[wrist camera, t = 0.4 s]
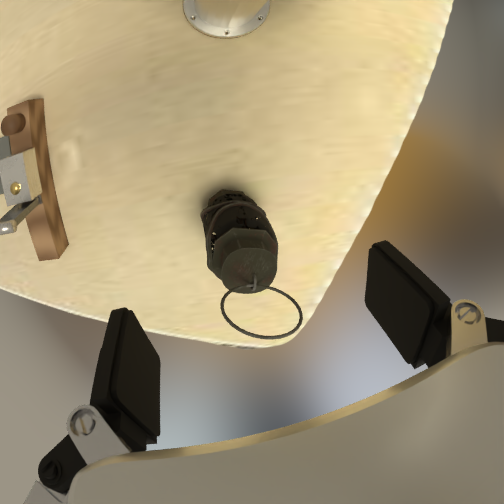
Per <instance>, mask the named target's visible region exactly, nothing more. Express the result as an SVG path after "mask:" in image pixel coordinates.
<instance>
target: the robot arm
mask: <svg viewBox="0 0 504 504" xmlns="http://www.w3.org/2000/svg"><path fill="white" fill-rule="evenodd" d="M183 9H184V13H185V16H186V18H187V20H188V21H189V23H190V24H191V25H192V26H193V27H194V28H195V29H197V30H198V31H200V32H202V33H203V34H206V35H209V36H211V37H217V38H236V37H240V36H244V35H246V34H248V33H251V32H252V31H254V30H255V29H257V28H258V27H259V26H260V25H261V24H262V23H263V22H264V21H265V19H266V17H267V15H268V13H269V9H270V0H184V2H183ZM192 18H195V20H192ZM257 18H260V20H258V19H257ZM226 32H227V33H228V35H225V33H226ZM365 303H366V307H367V308H368V309H369V311H370V312H371V314H372V315H373V316H374V318H375V319H376V320H377V322H378V323H379V324H380V326H381V327H382V329H383V330H384V331H385V333H386V334H387V336H388V337H389V338H390V340H391V341H392V343H393V344H394V345H395V347H396V348H397V350H398V351H399V352H400V354H401V355H402V357H403V358H404V360H405V361H406V362H407V363H408V364H411V365H412V366H413V367H414V369H416V368H418V367H420V366H421V365H423V364H425V363H426V365H427V366H428V369H426V370H424V371H422V372H420V373H418V374H417V375H415V376H412V377H411V378H409V379H407V380H405V381H403V382H401V383H399V384H396V385H394V386H392V387H390V388H388V389H386V390H384V391H382V392H379V393H377V394H375V395H373V396H370V397H368V398H366V399H363V400H361V401H358V402H356V403H353V404H351V405H348V406H346V407H343V408H341V409H338V410H335V411H333V412H330V413H327V414H324V415H321V416H318V417H315V418H312V419H309V420H306V421H303V422H300V423H296V424H293V425H290V426H286V427H283V428H279V429H275V430H271V431H267V432H263V433H259V434H255V435H251V436H246V437H242V438H236V439H232V440H227V441H221V442H215V443H209V444H202V445H195V446H189V447H181V448H173V449H163V450H152V451H146V444H157V436H159V435H160V358H159V355H158V354H157V352H156V350H155V349H154V347H153V345H152V344H151V342H150V340H149V339H148V337H147V335H146V334H145V332H144V330H143V328H142V327H141V325H140V323H139V321H138V320H137V318H136V316H135V314H134V313H133V311H132V310H128V309H127V308H125V307H124V308H120V309H115V310H112V311H111V314H110V317H109V321H108V325H107V329H106V333H105V337H104V341H103V345H102V348H101V350H100V354H99V358H98V363H97V368H96V372H95V377H94V383H93V388H92V393H91V399H90V405H81V406H78V407H77V408H75V409H74V410H73V411H72V412H71V413H70V415H69V417H68V420H67V430H68V433H69V434H68V435H67V436H66V437H65V438H64V439H63V440H62V441H61V442H60V443H59V444H57V446H55V447H54V449H52V450H51V451H50V452H49V453H48V454H47V455H46V456H45V457H44V458H43V459H42V460H41V462H40V464H39V468H38V474H39V478H40V481H39V482H38V481H35V483H34V485H33V487H32V489H31V491H30V492H29V495H28V496H27V498H26V500H25V502H24V504H504V321H502V320H497V319H491V318H487V317H485V315H484V312H483V310H482V308H481V307H480V306H479V305H478V304H477V303H475V302H473V301H470V300H464V299H463V300H458V301H456V302H455V303H454V304H453V305H452V304H451V303H450V298H449V297H448V296H447V295H446V294H445V293H444V292H443V291H442V290H441V289H440V288H439V287H438V286H437V285H436V284H435V283H433V282H432V281H431V280H430V279H429V278H428V277H427V276H426V275H425V274H424V273H423V272H422V271H421V270H420V269H419V268H418V267H416V266H415V265H414V264H413V263H412V262H411V261H410V260H409V259H408V258H406V257H405V256H404V255H403V254H402V253H401V252H399V251H398V250H397V249H396V248H395V247H394V246H393V245H392V244H390V243H389V242H388V241H386V240H385V241H381V242H378V243H374V244H373V245H372V248H370V249H369V256H368V270H367V283H366V292H365Z"/></svg>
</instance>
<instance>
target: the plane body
mask: <svg viewBox="0 0 504 504" xmlns="http://www.w3.org/2000/svg"><path fill="white" fill-rule="evenodd" d="M7 115H8V116H6V117H5V118H4V119H3V121H2V123H1V131H2V133H3V135H5V136H9V137H10V145H11V152H12V155H13V154H16V153H19V152H22V151H25V150H28V149H31V148H34V147H35V154H36V161H37V167H38V172H39V178H40V183H41V188H42V193H41V194H39V195H38V196H37V197H35V198H39V199H40V204H39V205H38V206H36V207H35V208H34V209H33V210H32V211H31V212H30V213H29V214H28V215H27V216H26V217H25V218H26V221H27V225H28V228H29V232H30V235H31V238H32V241H33V244H34V247H35V250H36V253H37V256H38V259H39V261H44V260H52V259H59V258H60V256H61V255H62V253H63V252H64V251H65V249H66V248H67V246H68V245H69V243H68V240H67V236H66V233H65V229H64V226H63V222H62V218H61V214H60V210H59V206H58V201H57V197H56V192H55V187H54V182H53V177H52V171H51V166H50V159H49V153H48V145H47V137H46V128H45V117H44V102H43V99H33V100H27V101H24V102H22V103H19V104H17V105H14V106H12V107H10V108H7Z"/></svg>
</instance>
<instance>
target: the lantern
mask: <svg viewBox="0 0 504 504" xmlns="http://www.w3.org/2000/svg"><path fill="white" fill-rule="evenodd" d="M206 213H207V214H206ZM205 214H206V215H205ZM200 216H201V220H202V222H203V226H204V232H205V238H206V251H207V266H208V268H209V269H210V270H211V271H212V272H213V273H214V274H215V275H216V276H217V277H218V278H219V279H221V280H222V282H223V284H224V286H225V287H226V288H227V289H229V291H228V292H227V293H225V295H224V296H223V298H222V300H221V311H222V314H223V316H224V318H225V319H226V321H227V322H228V323H229V324H230V325H231V326H232V327H234V328H235V329H236V330H238V331H240V332H242V333H244V334H246V335H248V336H251V337H255V338H260V339H280V338H284V337H287V336H289V335H291V334H293V333H294V332H295V331H296V330H298V329H299V327H300V325H301V324H302V320H303V316H302V311H301V308H300V306H299V305H298V303H297V302H296V301H295V300H294V299H293V298H292V297H290V296H289V295H288V294H286V293H284V292H283V291H281V290H278V289H276V288H273V287H270V284H271V283H272V282H273V280H274V278H275V275H276V271H277V257H278V242H277V238H276V235H275V233H274V231H273V228H272V226H271V224H270V223H269V221H268V219H267V218H266V213H265V211H264V210H263V209H261V208H260V207H259V206H257V204H256V203H255V202H254V201H253V200H252V199H251V198H249V197H248V196H246V195H245V194H244V193H243V192H239V191H228V190H221V191H219V192H218V193H217V194H216V195H214V196H213V197H212V198H211V199H209V205H208V207H207V208H205V209H204V210H203V211H202V212H201V215H200ZM206 217H207V220H206ZM256 218H258V219H256ZM265 226H266V227H265ZM249 228H250V229H249ZM213 232H215V233H216V235H213V234H212V233H213ZM213 244H214V245H213ZM212 249H213V250H212ZM266 288H267V289H270V290H273V291H276V292H278V293H281V294H282V295H284V296H286V297H287V298H288V299H290V300H291V301H292V302H293V303H294V304H295V306H296V307H297V309H298V311H299V314H300V319H299V323H298V324H297V326H296V327H295V328H294V329H293V330H292V331H290V332H288V333H286V334H282V335H277V336H263V335H257V334H253V333H250V332H247V331H245V330H243V329H241V328H239V327H238V326H237V325H235V324H234V323H233V322H232V321H231V320H230V319H229V318H228V317H227V315H226V314H225V311H224V301H225V298H226V297H227V296H228V295H229V294H230V293H231V292H236V293H243V294H251V293H257V292H260V291H263V290H265V289H266Z"/></svg>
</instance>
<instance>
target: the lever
mask: <svg viewBox="0 0 504 504" xmlns="http://www.w3.org/2000/svg"><path fill="white" fill-rule="evenodd" d="M39 204H40V199H39V198H34V199H33V200H31V201H27V202H23V203H19V204H17V205H15V206H14V207H13V208H12V209H11V210H10V211H9V212H7V213H6V214H5V215H4V216H3V217H2V218H1V219H0V235H3V234H8V233H13V232H16V230H17V225H18V224H19V223H20V222H21V221H22V220H23V219H24V218H25V217H26V216H27V215H28V214H29V213H30V212H31V211H32V210H33V209H34V208H35V207H36V206H38V205H39Z"/></svg>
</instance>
